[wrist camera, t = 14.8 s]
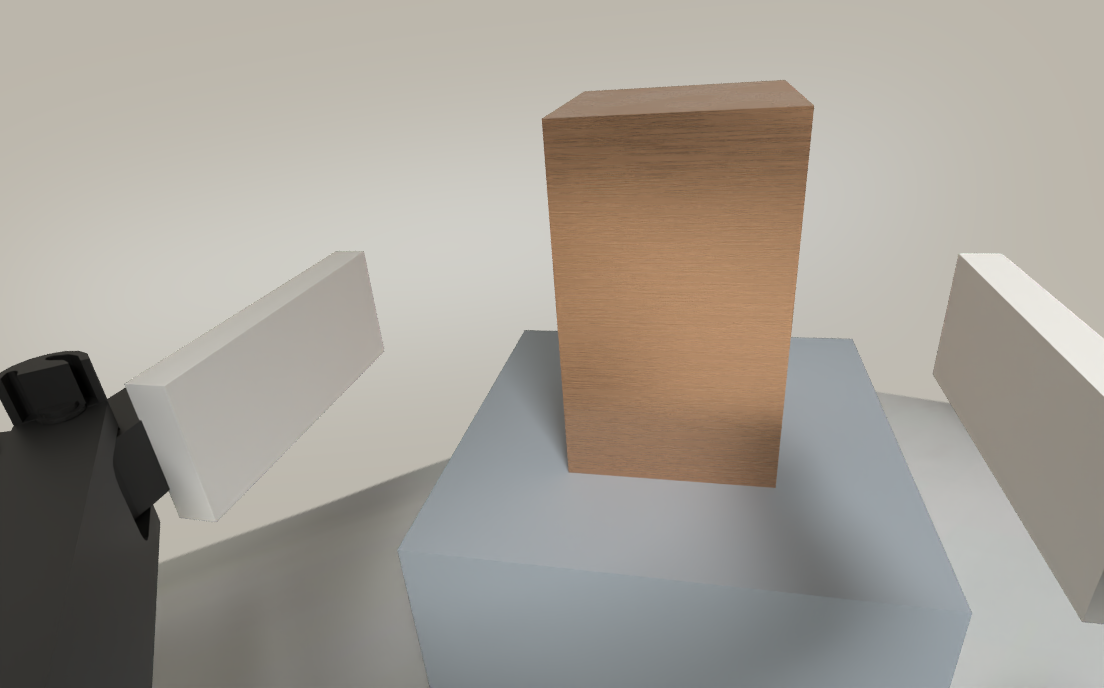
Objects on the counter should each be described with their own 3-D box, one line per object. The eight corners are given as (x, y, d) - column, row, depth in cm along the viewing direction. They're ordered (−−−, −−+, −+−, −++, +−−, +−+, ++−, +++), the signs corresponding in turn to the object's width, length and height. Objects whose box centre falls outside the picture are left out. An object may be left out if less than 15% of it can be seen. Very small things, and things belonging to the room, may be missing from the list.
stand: (827, 505, 35) (852, 338, 31) (906, 831, 21) (972, 612, 17) (540, 482, 38) (525, 330, 34) (444, 748, 25) (397, 549, 20)
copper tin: (760, 382, 28) (785, 79, 22) (775, 488, 21) (814, 105, 16) (598, 376, 29) (584, 91, 24) (568, 472, 23) (542, 118, 18)
